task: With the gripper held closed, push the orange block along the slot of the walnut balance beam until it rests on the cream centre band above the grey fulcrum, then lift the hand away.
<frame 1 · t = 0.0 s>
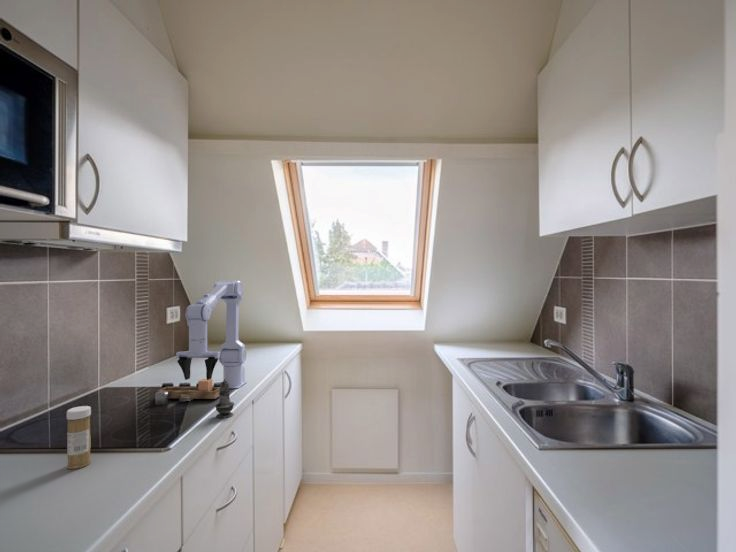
hand: (198, 379, 129), 10 cm above the counter, tool pointing down, fingers open, 7 cm apart
dark grey turned ornament: (224, 416, 122), on the counter
orange block: (205, 385, 140), point 5 cm above the counter, slide at 6.0 cm
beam: (189, 398, 140), on the counter
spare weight: (161, 403, 134), on the counter
sprinkles bottle: (78, 466, 89), on the counter
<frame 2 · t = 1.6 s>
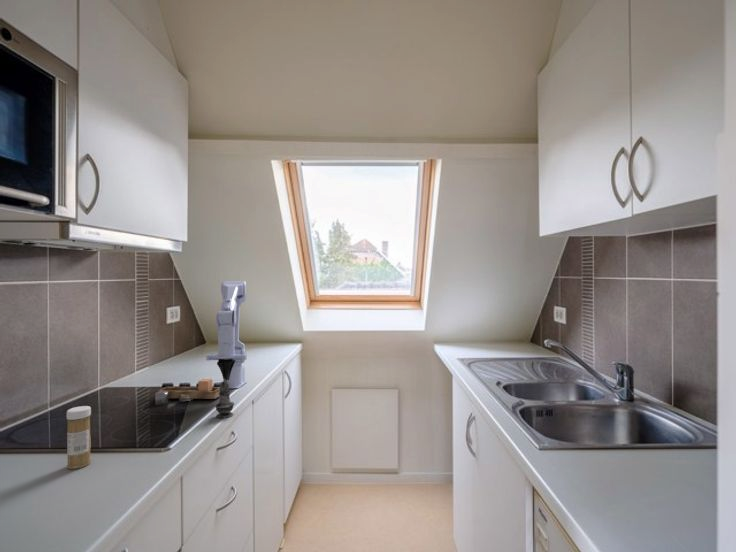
hand: (226, 379, 139), 7 cm above the counter, tool pointing down, fingers closed
nothing on the counter moved.
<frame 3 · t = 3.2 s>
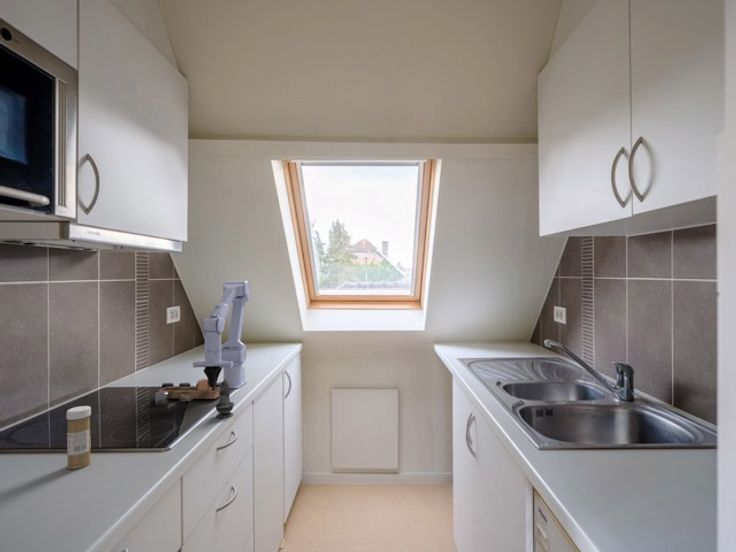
hand: (213, 386, 140), 4 cm above the counter, tool pointing down, fingers closed
orange block: (204, 385, 140), point 5 cm above the counter, slide at 5.7 cm, touching gripper
everything else where it was.
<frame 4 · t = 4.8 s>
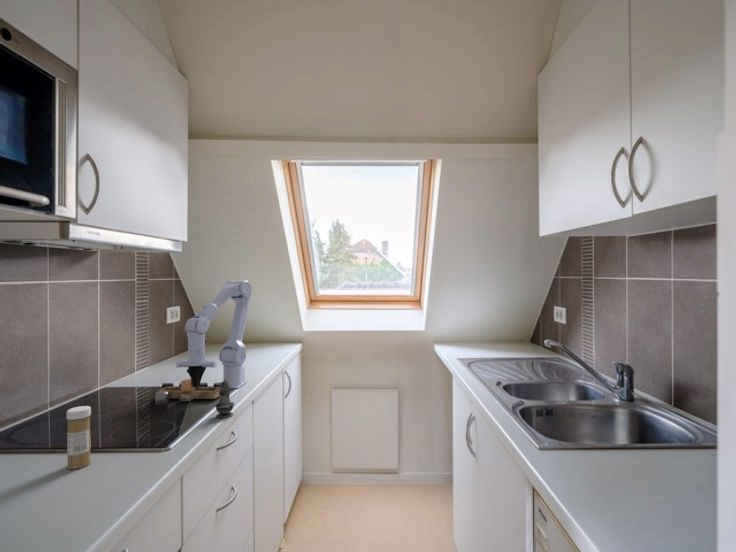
hand: (196, 386, 140), 4 cm above the counter, tool pointing down, fingers closed
orange block: (188, 385, 140), point 5 cm above the counter, slide at -0.6 cm, touching gripper
everything else where it was.
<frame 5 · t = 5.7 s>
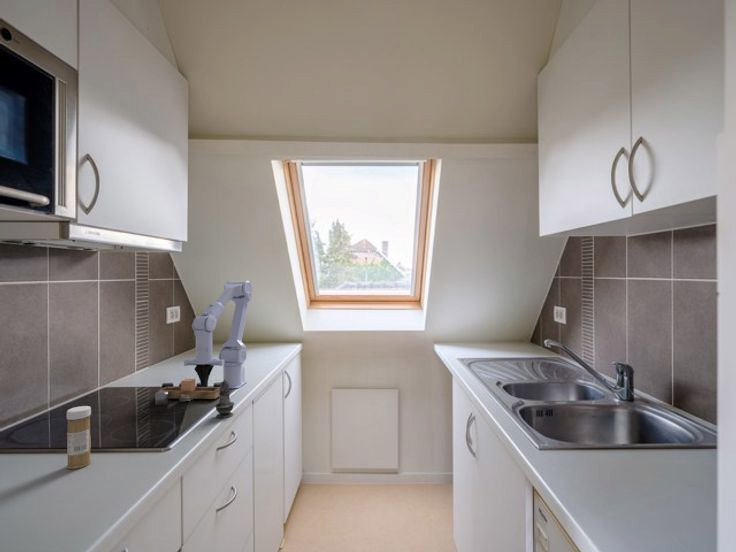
hand: (204, 384, 140), 5 cm above the counter, tool pointing down, fingers closed
orange block: (188, 385, 140), point 5 cm above the counter, slide at -0.6 cm
everything else where it was.
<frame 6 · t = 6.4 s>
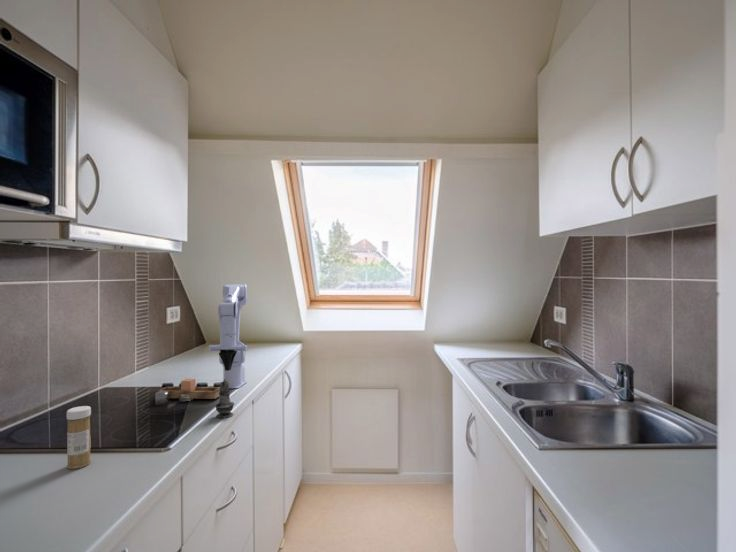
hand: (228, 370, 143), 10 cm above the counter, tool pointing down, fingers closed
nothing on the counter moved.
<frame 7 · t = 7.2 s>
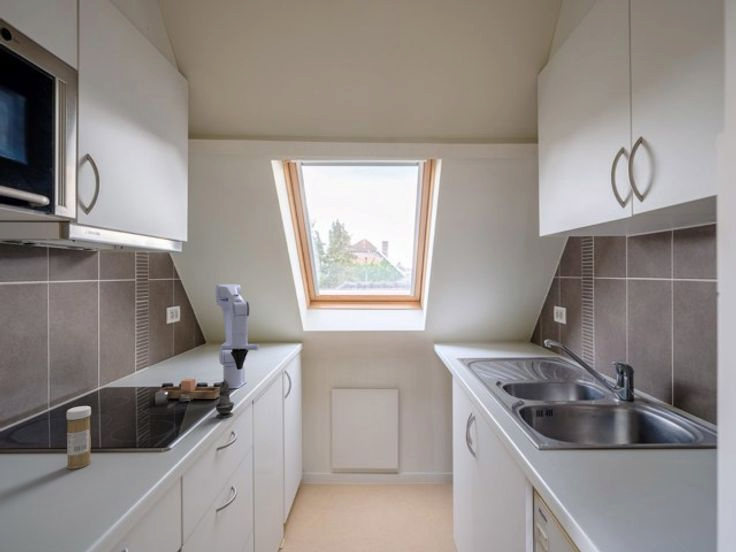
hand: (239, 369, 144), 10 cm above the counter, tool pointing down, fingers closed
nothing on the counter moved.
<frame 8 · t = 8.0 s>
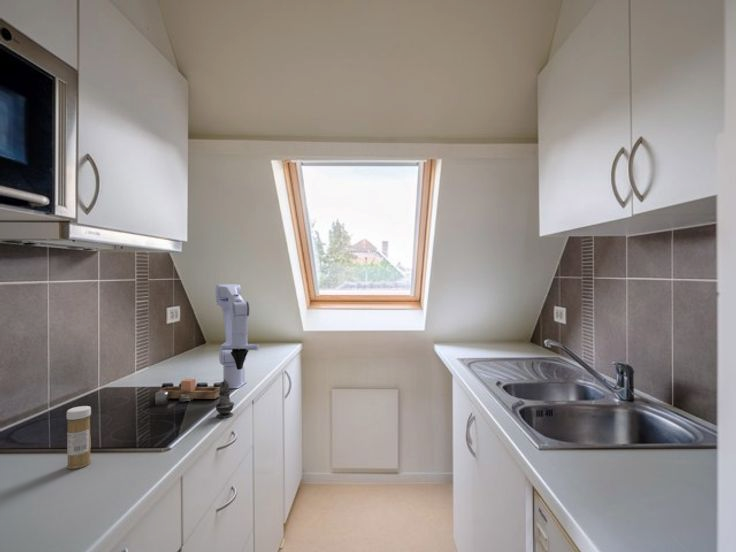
hand: (239, 369, 144), 10 cm above the counter, tool pointing down, fingers closed
nothing on the counter moved.
at the end: orange block slide at -0.6 cm; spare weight moved 0.1 cm from its start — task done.
